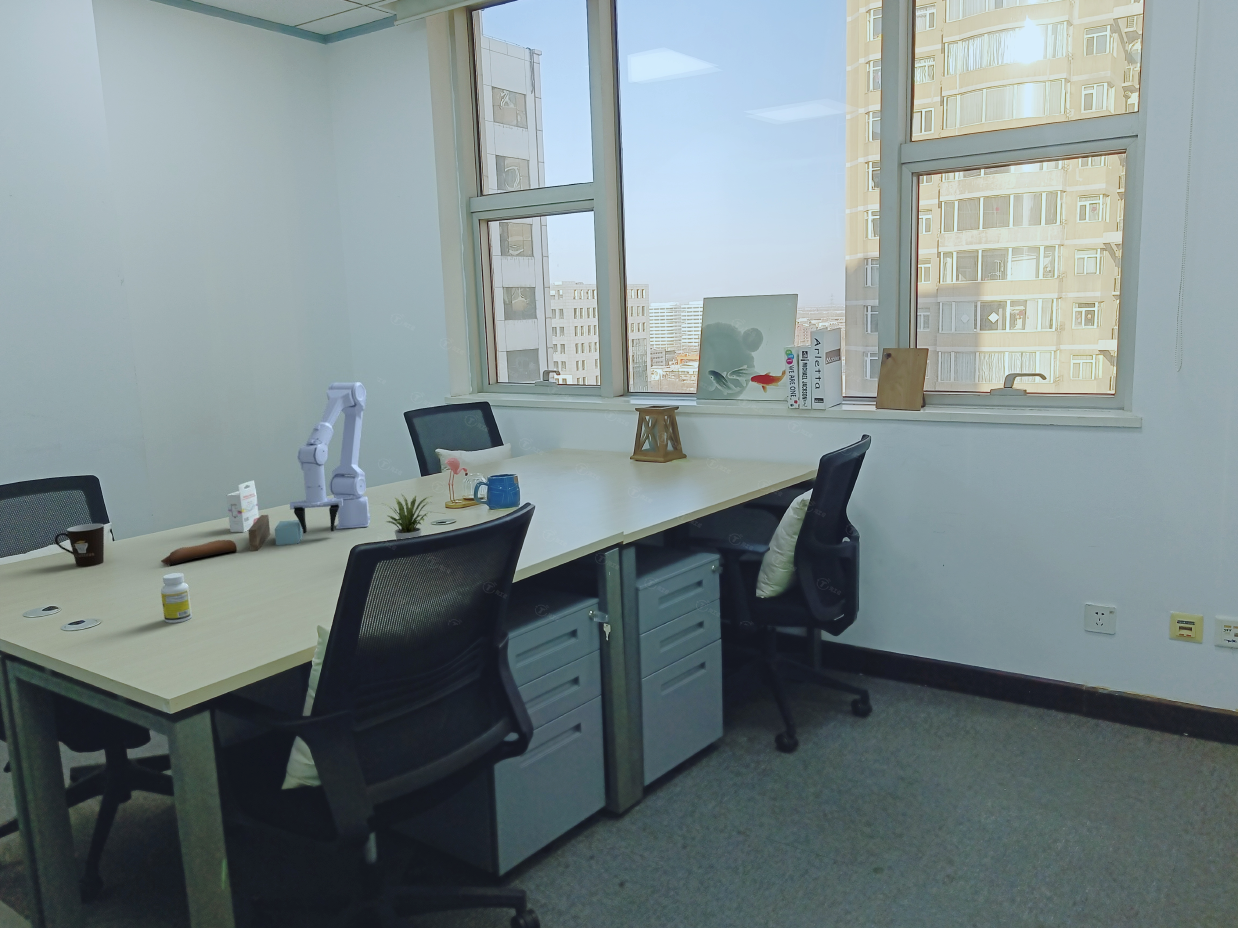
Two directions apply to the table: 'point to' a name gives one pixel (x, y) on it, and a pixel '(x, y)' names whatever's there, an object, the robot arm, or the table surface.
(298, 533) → the teal block
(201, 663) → the table surface
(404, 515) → the house plant
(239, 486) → the ink cartridge box
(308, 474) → the robot arm
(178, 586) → the supplement bottle
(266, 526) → the walnut board
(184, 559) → the sweet potato
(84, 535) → the coffee mug
